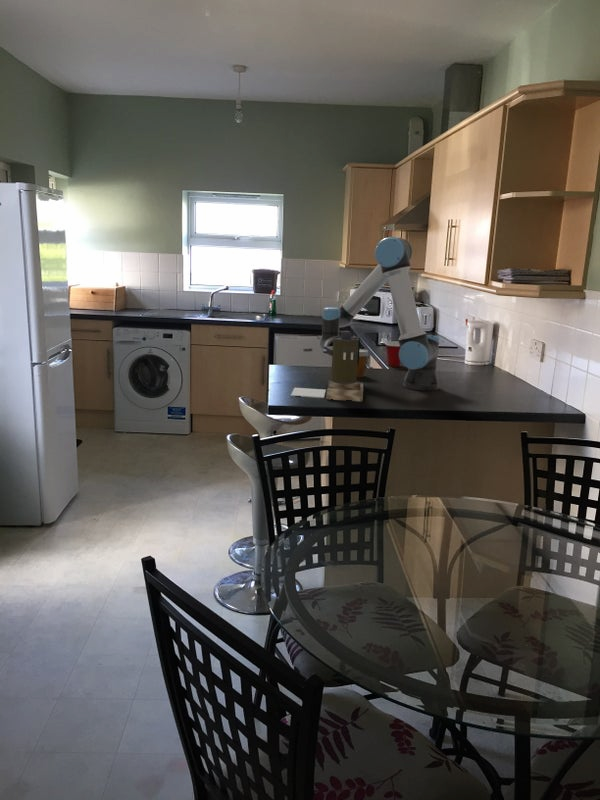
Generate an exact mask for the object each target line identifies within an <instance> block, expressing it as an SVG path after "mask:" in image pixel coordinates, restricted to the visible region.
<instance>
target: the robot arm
mask: <svg viewBox="0 0 600 800" xmlns="http://www.w3.org/2000/svg"><path fill="white" fill-rule="evenodd" d="M412 256H413V247H412V245H411V243H410V242H409V241H408V240H407V239H405V238H402V237H396V236H390V237H385V238H383V239H381V240H380V241H379V242H378V243H377V245H376V247H375V250H374V257H375V260H376V262H377V263H378V264H377V265H376V266H375V268H374V269H373V270H372V271H371V272H370V274H369V275H367V276H366V278H365V279H364V280H363V281H362V282H361V283H360V284H359V286H358V287H357V288H356V289H355V290H354V291H353V293H351V295H350V296H349V297H348V298H347V300H345V301H344V303H343V304H342V305H341V306H340V307H330V306H328V307H327V306H326V307H324V308H323V309H322V315H321V316H322V317H321V318H322V319H321V321H322V322H321V324H322V326H321V337H320V339H319V346H320V348H321V350H322V352H323V354H327V355H329V356H330V357H332V354H333V337H335V336H340V333H339V331H340V329H341V328H346V327H348V326H349V325H351V324H352V322H353V319H354V318H355V317H356V315H358V313H359V312H360V311H361V310H362V309H363V308H364V307H365V306H366V305H367V303H368V302H369V301H370V300H371V299H372V298H373V297H374V296H375V295H376V294H377V293H378V292H379V291H380V290H381V288H382V287H383V286H384V285H385V284H386V283H387V282H388V287H389V291H390V294H391V298H392V303H393V308H394V311H395V315H396V316H395V317H396V321H397V325H398V329H399V333H400V335H399V337H398V341H399V345H400V350H399V359H400V361H401V362H400V364H402V365H403V366H404V367H406V369H408V370H407V373H406V375H405V377H404V380H403V387H404V388H406V389H411V390H415V391H424V390H428V391H427V392H429V391H437V390H439V387H440V383H439V378H438V373H437V366H438V365H437V363H438V354H439V345H440V338H439V336H438V335H429V334H427V332H426V331H425V330H422V327H421V326H422V325H421V322H420V318H419V314H418V309H417V305H416V304H417V303H416V299H415V296H414V292H413V287H412V283H411V279H410V275H409V271H410V270H411V262H410V260H411V259H412ZM343 360H346V353H344V354H343ZM351 360H353V353H351Z"/></svg>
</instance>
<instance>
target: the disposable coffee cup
mask: <svg viewBox="0 0 600 800" xmlns="http://www.w3.org/2000/svg"><path fill="white" fill-rule="evenodd" d="M368 357H369V350H368V349H363V348H360V351H359V365H358V364H357V375H356V378H363V377H364V375H365V371H366V365H367V360H368Z"/></svg>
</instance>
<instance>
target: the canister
mask: <svg viewBox="0 0 600 800" xmlns="http://www.w3.org/2000/svg"><path fill="white" fill-rule="evenodd" d="M339 334H340V335H339V336H335V337H333V354H332V356H331V373H330V374H331V375H330V377H331V378H330V380H329V381H331V382H334V383H339V384H353V383H358V382H357V377H356V375H357V364H358V365H359V351H360V349H361V337H359V336H353V335H352V331H350V330H339ZM344 353H346V360H343V354H344ZM351 353H353V360H351Z"/></svg>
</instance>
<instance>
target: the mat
mask: <svg viewBox="0 0 600 800" xmlns="http://www.w3.org/2000/svg"><path fill="white" fill-rule="evenodd" d="M326 393H327V389H321V388H319V389H318V388H308V387H307V388H305V387H294V388H293V390H292V391H291V394H290V397H295V396H301V397H300V398H313V399H325V397H326V396H325V395H326Z"/></svg>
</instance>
